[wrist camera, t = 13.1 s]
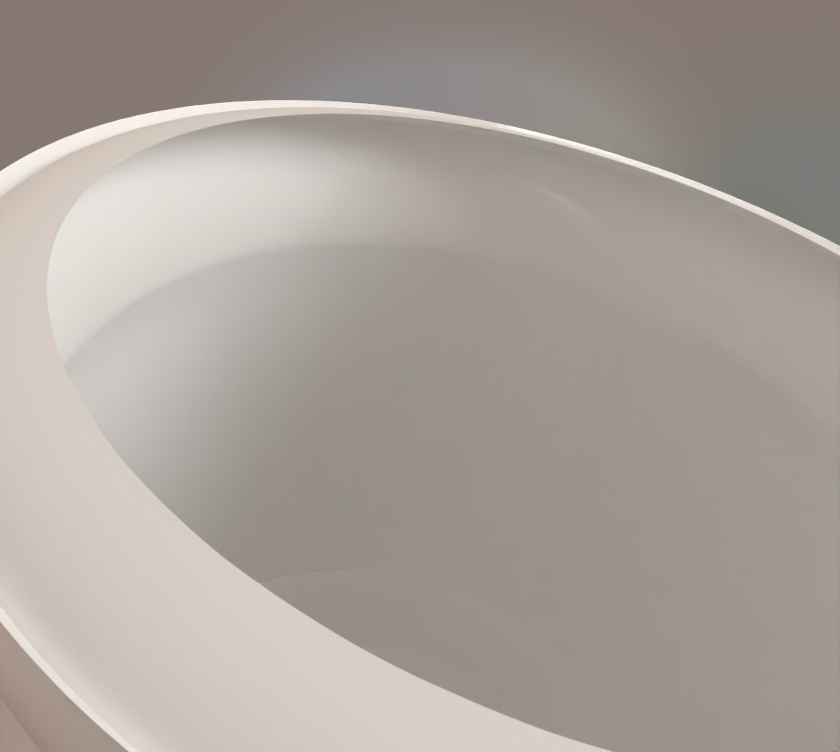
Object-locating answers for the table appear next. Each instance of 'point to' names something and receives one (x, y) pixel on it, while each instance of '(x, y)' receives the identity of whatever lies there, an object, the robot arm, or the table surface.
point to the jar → (409, 444)
